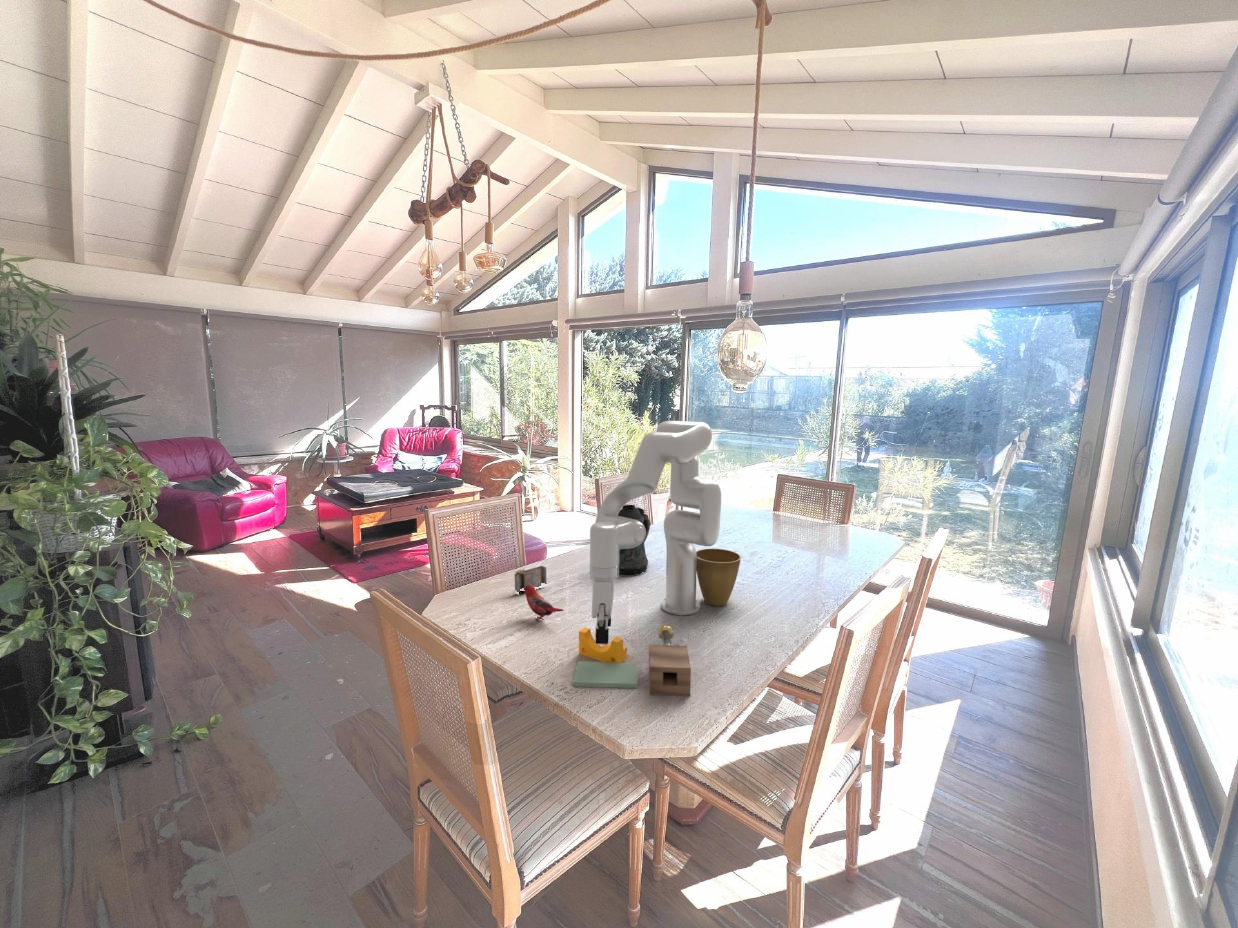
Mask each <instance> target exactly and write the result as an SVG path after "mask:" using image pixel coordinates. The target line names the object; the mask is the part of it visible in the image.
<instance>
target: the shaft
mask: <svg viewBox="0 0 1238 928" xmlns="http://www.w3.org/2000/svg"><path fill="white" fill-rule="evenodd" d="M657 634H658V637H659V639H660V640H661V645H673V644H672V639H673V637H674V629H673V627H671V626H670V625H668V624H664V625H661V626H660V627H658V633H657Z"/></svg>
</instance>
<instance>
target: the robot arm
mask: <svg viewBox="0 0 1238 928" xmlns="http://www.w3.org/2000/svg"><path fill="white" fill-rule="evenodd" d="M712 438H713V433H712V430H711V427H710V425H708V424H707V423H706V422H702V421H685V420H666V421H662V422H661V423H659V424H658V425H657V427H656V430H655V431H652V432H647V433H646V434H645V435H644V436H643V437H642V440H641V442H640V445H639V446H638V449H637V451H636V454H635V458H634V459H633V462H632V465H631V466H630V467H631V468H630V470H629V473H628V475H627V477H626V478H625V479H624V480H623V481H622V482H620V483H619V484H618V485H617V486H616V487H614V489H612V490H611V491H610V492H609V493H608V494H607V495H606V496H605V498H604V499H603V501H602V503H601V505H600V508H599V510H598V513H597V516H596V519H595V523H593V524H592V525H591V526H590V529H589V578H590V579H591V580H592V593H591V594H592V597H591V598H592V599H591V601H592V602H591V618H592V619H596V626H595V642H596V644H598V645H605V644H608V645H609V631H610V629H609V627H611V626H612V611H613V605H614V596H615V594H614V593H615V581H616V580H617V579H619V578H620V575H619V550H620V549H626V548H634V547H637V546H639V545H640V544H641V543H642V542H643V541H644V539H645V536H646V529H645V527H644V525H643V524H642V523H641V522H639V521H637V520H634V519H630V518H625V517H621V516H617V515H618V513H619V511H620V510H621V509H622V508H623V506H624V505H627V504H628V503H629V502H631V501H632V500H635V499H637V498H640V497H642V496H646V495H647V494H652V493H653V492H655V491H656V490H657V487H658V485H659V482H660V479H661V477H662V474H663V472H664V471H663V470H664V468H665V466H666V464H670V480H669V481H670V485H669V497H670V501H671V503H673V504H674V505H676V506H678V507H683V508H689V509H694V510H698V511H699V512H694V511H691V510H690V511H688V510H683V509H676V510H674V509H673V510H671V511H669V512H668V513H667V514H666V515H665V517H664V520H663V531H664V538H665V544H666V545H665V546H666V562H665V563H666V567H665V569H666V572H665V573H666V575H665V576H666V577H665V580H666V581H665V585H666V586H665V598H664V599H662V600H661V602H660V607H661V609H662V610H664V612H666V613H669V614H670V615H671V614H672V615H675V616H677V615H678V616H688V615H695V614H696V613H699V611H700V610H701V607H702V606H701V603H700V602H699V601H698V599H697V571H696V569H697V554H696V551H697V550H696V548H695V545H698V546H702V547H703V546H704V547H712V546H713V545H715V544H716V543H717V541H718V539H719V535H720V528H721V527H720V526H721V510H722V492H721V487H720V485H719V484H718V482H717V481H715V480H713V479H710V478H703V477H700V476H699V459H698V456H699V455H700V454H702V453H704V452H705V451H706V450H707V449H708V448H709V446H710V445H711V442H712Z"/></svg>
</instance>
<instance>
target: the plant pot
mask: <svg viewBox="0 0 1238 928" xmlns="http://www.w3.org/2000/svg"><path fill="white" fill-rule="evenodd" d="M696 554H697V569H696V578H697V581H698V584H699V589H700V591H701V596H702V598H703V601H704V603H706V604H707V605H709V606H714V607H722V606H723V607H724V606H725V605H727V604H728V602H729V600H730V597H731V595H732V593H733V589H734V587H735V584H736V582H737V577H738V573H739V569H740V565H741V559H742V556H741V555H740V554H739V553H738V552H735V551H733V550H729V549H724V548H723V549H722V548H702V549H698V550H696Z"/></svg>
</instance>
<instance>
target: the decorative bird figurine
mask: <svg viewBox="0 0 1238 928" xmlns="http://www.w3.org/2000/svg"><path fill="white" fill-rule="evenodd" d="M524 590H525V594H524V595H525V597H526V601H527V605H528V606H529V608H530V609H531V611H532V612H533V613H534V614H536V616H537V618H539V619H538V620H540V619H542V620H543V621H545V620H544V617H546V616H551V615H552V614H553V613H556V612H564V611H565V610H564V609H563V608H559V607H554V606H553V605H552V604H551V603H550V602H549V601H548V600H547V599H545V598H544V597H543V596H542V595H541V594H539V593H538V592H537V591H538V590H535V588H534V587H532V586H531V585H529V584H528V585H526V587H525V589H524ZM537 618H536V619H537Z"/></svg>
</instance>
